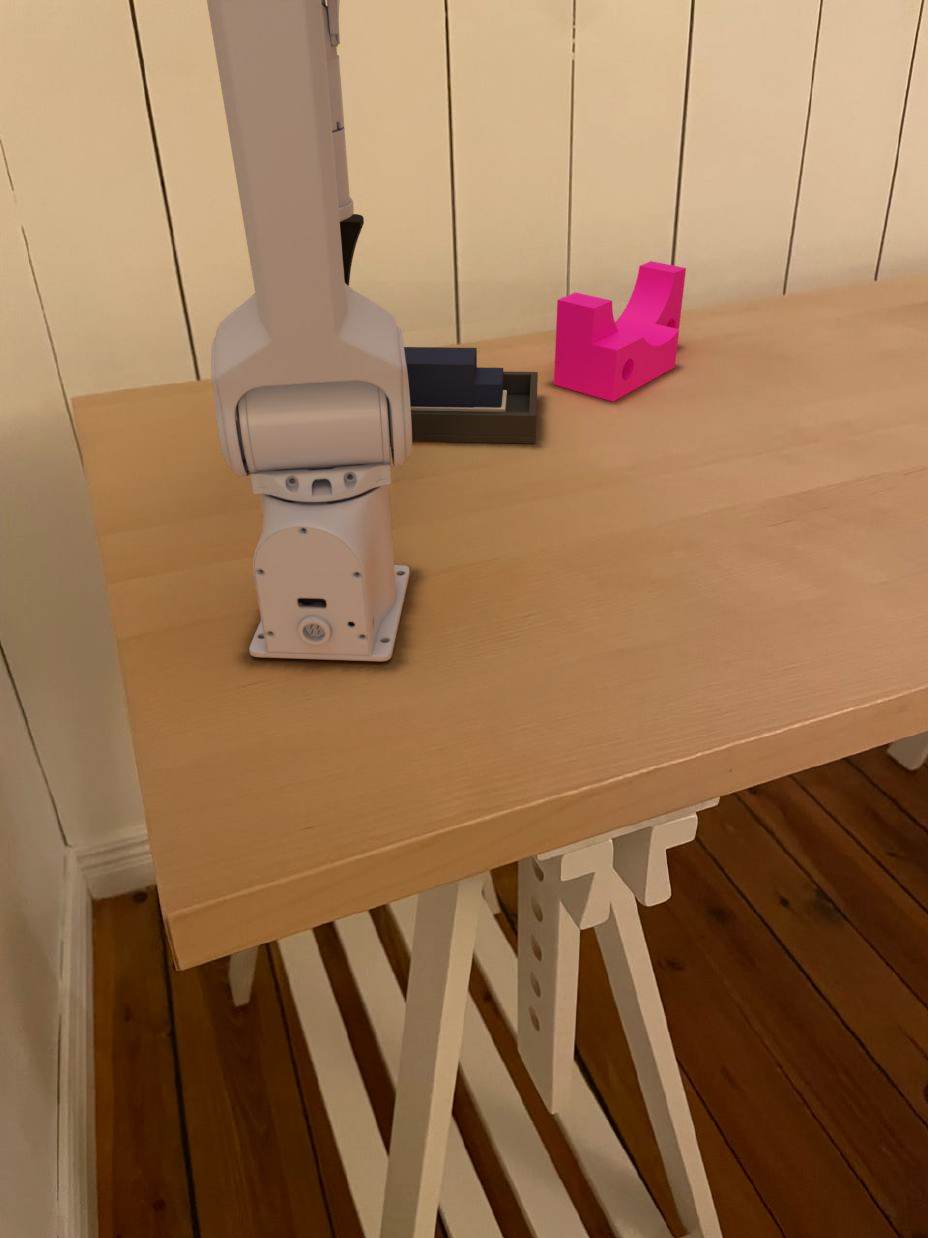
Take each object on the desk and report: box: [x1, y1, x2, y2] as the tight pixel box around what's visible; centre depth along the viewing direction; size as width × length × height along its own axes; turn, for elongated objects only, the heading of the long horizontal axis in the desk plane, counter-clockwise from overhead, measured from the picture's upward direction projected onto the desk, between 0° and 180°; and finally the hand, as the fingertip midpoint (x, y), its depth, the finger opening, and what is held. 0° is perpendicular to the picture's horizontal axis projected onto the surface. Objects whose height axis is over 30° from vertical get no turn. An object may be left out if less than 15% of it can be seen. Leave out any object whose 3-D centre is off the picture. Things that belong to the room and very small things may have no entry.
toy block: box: [553, 260, 687, 403], centre depth 88 cm, size 15×6×8 cm, turn 140°
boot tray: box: [411, 370, 539, 445], centre depth 80 cm, size 9×15×2 cm, turn 86°
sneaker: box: [404, 346, 507, 412], centre depth 79 cm, size 10×4×5 cm, turn 86°
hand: (320, 338), depth 70 cm, fingers open, 7 cm apart
